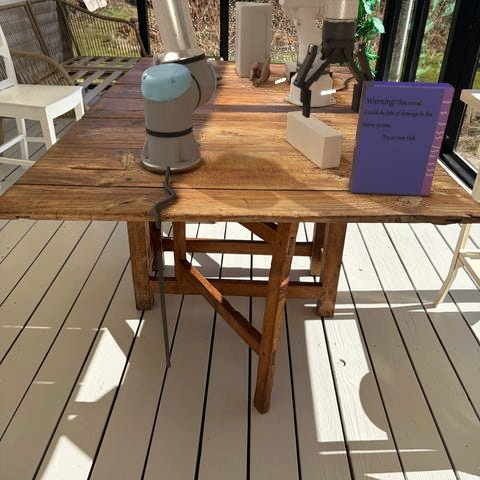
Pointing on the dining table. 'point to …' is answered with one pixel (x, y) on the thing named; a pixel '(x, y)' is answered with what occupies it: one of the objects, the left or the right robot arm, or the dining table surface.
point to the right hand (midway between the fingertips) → (312, 25)
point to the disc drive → (294, 70)
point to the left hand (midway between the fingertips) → (330, 114)
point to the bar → (314, 139)
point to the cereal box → (399, 137)
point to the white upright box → (252, 35)
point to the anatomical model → (260, 71)
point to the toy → (158, 56)
